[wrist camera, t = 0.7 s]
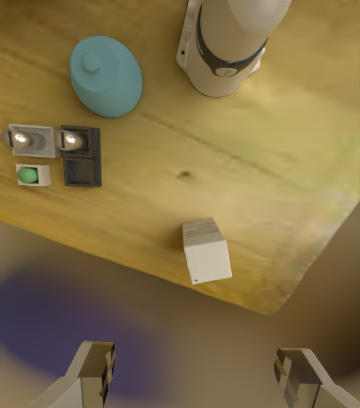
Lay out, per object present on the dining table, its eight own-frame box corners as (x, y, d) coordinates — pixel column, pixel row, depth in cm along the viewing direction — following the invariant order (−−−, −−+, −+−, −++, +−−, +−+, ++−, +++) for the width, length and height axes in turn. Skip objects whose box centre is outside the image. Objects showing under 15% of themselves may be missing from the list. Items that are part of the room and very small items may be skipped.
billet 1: (28, 132, 48) (-2, 128, 40) (45, 133, 48) (19, 129, 40) (30, 149, 48) (1, 148, 41) (46, 150, 49) (21, 149, 41)
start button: (24, 167, 48) (16, 168, 45) (39, 168, 48) (31, 169, 46) (26, 181, 49) (18, 182, 46) (40, 182, 49) (32, 183, 46)
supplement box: (218, 246, 56) (233, 278, 41) (187, 252, 56) (191, 286, 42) (213, 216, 54) (227, 239, 39) (181, 222, 54) (182, 247, 39)
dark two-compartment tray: (66, 126, 48) (57, 124, 44) (99, 128, 48) (93, 126, 44) (70, 183, 51) (62, 186, 47) (101, 185, 51) (95, 188, 48)
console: (25, 163, 50) (15, 163, 47) (49, 165, 50) (41, 165, 47) (27, 183, 51) (18, 184, 48) (51, 184, 51) (43, 186, 48)
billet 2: (72, 133, 47) (51, 128, 39) (89, 134, 47) (72, 130, 39) (73, 150, 48) (53, 149, 40) (90, 151, 48) (73, 151, 40)
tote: (16, 125, 47) (8, 123, 45) (58, 128, 48) (52, 126, 46) (20, 154, 49) (12, 155, 47) (60, 157, 49) (55, 157, 47)
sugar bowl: (86, 122, 48) (58, 112, 36) (72, 50, 44) (36, 14, 33) (148, 115, 47) (139, 103, 36) (139, 43, 44) (125, 4, 32)
